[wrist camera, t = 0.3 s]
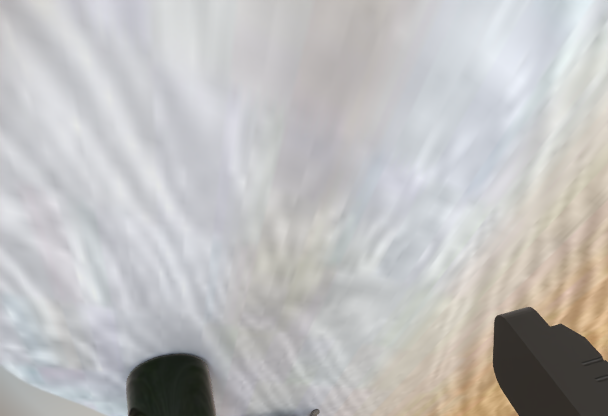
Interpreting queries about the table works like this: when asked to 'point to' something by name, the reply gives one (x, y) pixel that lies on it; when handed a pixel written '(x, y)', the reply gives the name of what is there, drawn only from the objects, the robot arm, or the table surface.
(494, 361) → the robot arm
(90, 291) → the table surface
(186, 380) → the beer bottle
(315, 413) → the mug
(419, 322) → the table surface
